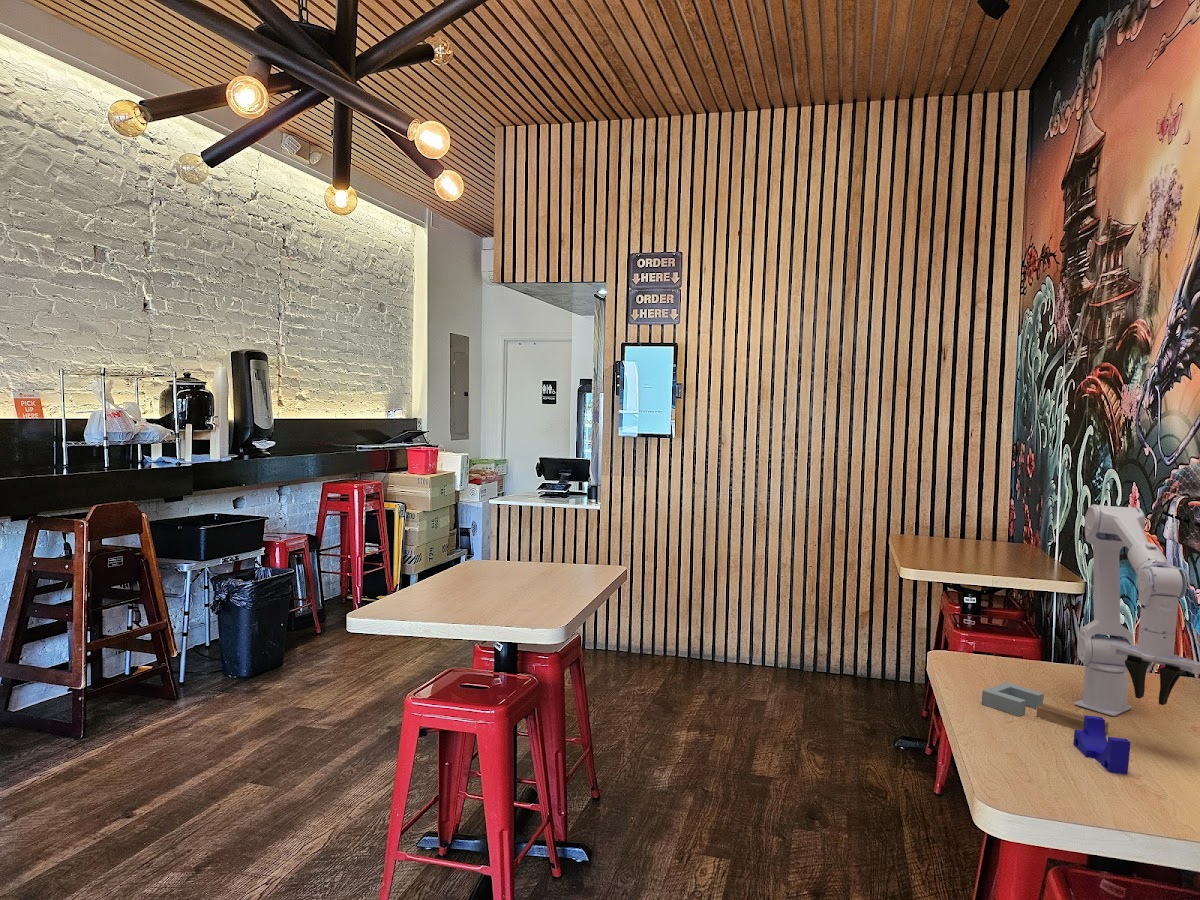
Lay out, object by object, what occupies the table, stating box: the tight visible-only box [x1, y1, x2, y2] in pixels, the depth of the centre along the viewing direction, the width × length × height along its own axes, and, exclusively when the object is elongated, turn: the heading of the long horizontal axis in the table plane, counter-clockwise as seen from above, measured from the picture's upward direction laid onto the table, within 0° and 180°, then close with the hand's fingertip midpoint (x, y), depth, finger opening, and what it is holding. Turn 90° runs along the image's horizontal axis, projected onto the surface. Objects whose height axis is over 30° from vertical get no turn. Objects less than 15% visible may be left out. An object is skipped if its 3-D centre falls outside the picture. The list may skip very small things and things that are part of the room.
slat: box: [1035, 703, 1110, 735], centre depth 165 cm, size 4×12×2 cm, turn 39°
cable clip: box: [1072, 714, 1131, 775], centre depth 149 cm, size 12×4×6 cm, turn 169°
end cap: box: [981, 682, 1045, 717], centre depth 175 cm, size 11×8×3 cm
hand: (1150, 700), depth 154 cm, fingers open, 3 cm apart
